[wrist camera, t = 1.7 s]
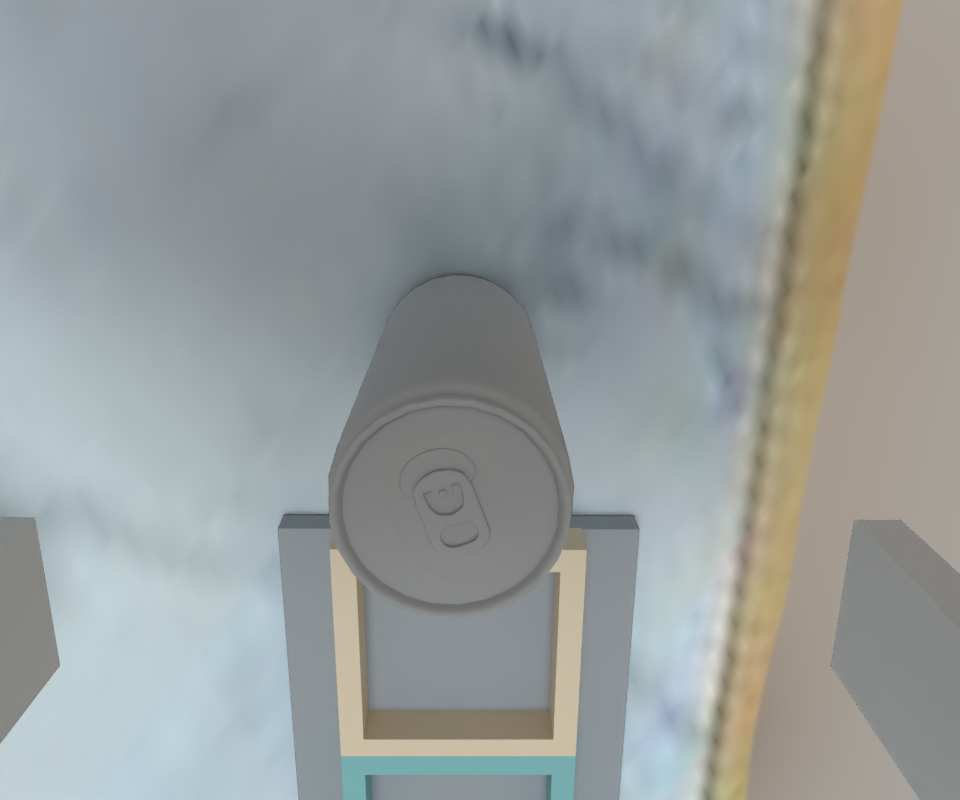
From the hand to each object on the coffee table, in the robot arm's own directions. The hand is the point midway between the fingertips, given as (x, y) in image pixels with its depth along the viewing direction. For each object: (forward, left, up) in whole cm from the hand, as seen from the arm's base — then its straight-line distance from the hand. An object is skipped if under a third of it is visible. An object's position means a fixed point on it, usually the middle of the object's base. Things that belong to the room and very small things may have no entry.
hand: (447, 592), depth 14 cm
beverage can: (0, 0, -14) cm, 14 cm away
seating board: (+14, 0, -14) cm, 20 cm away
